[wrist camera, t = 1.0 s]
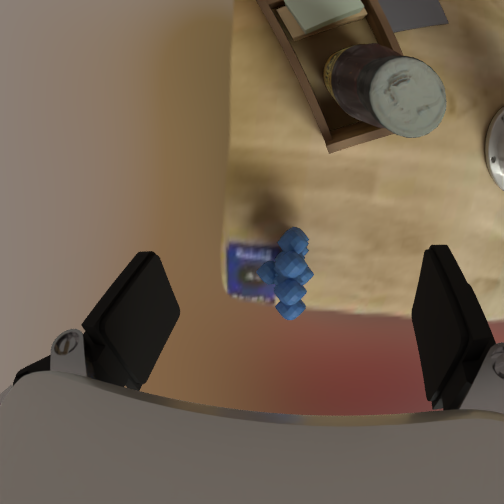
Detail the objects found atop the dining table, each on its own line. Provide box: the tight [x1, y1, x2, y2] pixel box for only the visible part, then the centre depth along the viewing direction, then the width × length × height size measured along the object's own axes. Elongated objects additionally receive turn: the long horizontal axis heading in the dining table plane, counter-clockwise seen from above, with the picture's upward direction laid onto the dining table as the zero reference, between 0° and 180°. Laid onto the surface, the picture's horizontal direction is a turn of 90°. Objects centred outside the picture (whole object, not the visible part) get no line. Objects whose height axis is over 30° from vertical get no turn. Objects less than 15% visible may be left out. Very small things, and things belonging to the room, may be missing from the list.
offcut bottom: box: [277, 6, 367, 42], centre depth 22 cm, size 8×4×4 cm, turn 117°
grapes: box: [257, 227, 314, 320], centre depth 35 cm, size 12×7×12 cm, turn 5°
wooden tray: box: [256, 0, 403, 154], centre depth 23 cm, size 11×17×6 cm, turn 26°
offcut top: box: [284, 0, 364, 35], centre depth 19 cm, size 6×4×3 cm, turn 121°
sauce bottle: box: [323, 43, 446, 138], centre depth 18 cm, size 7×6×20 cm
